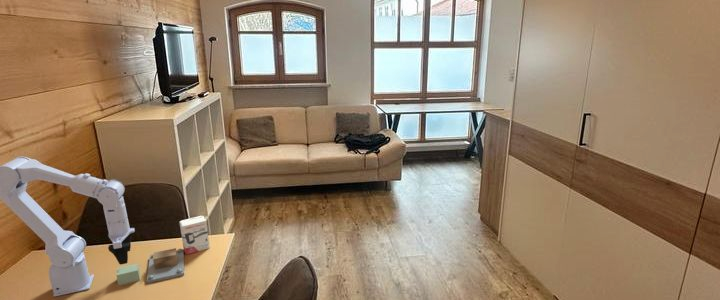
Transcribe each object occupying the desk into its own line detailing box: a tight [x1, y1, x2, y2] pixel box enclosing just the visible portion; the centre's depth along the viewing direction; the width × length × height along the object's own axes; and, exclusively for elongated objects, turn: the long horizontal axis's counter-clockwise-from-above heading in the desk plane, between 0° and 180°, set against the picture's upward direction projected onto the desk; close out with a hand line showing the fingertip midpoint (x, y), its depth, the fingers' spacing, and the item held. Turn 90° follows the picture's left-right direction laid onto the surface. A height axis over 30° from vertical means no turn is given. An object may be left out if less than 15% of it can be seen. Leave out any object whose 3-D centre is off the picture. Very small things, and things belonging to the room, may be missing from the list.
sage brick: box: [116, 263, 141, 286], centre depth 129 cm, size 6×4×4 cm
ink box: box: [178, 215, 211, 256], centre depth 145 cm, size 8×5×12 cm, turn 123°
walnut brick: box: [153, 248, 178, 270], centre depth 136 cm, size 7×4×4 cm, turn 113°
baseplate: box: [146, 248, 185, 284], centre depth 136 cm, size 11×16×2 cm
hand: (125, 257), depth 127 cm, fingers open, 7 cm apart
